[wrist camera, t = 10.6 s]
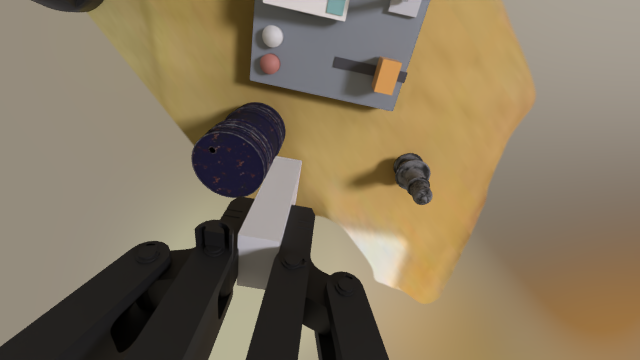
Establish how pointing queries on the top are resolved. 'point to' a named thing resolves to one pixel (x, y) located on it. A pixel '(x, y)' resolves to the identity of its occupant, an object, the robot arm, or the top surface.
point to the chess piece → (413, 177)
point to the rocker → (315, 7)
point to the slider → (386, 75)
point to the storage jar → (239, 150)
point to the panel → (335, 48)
